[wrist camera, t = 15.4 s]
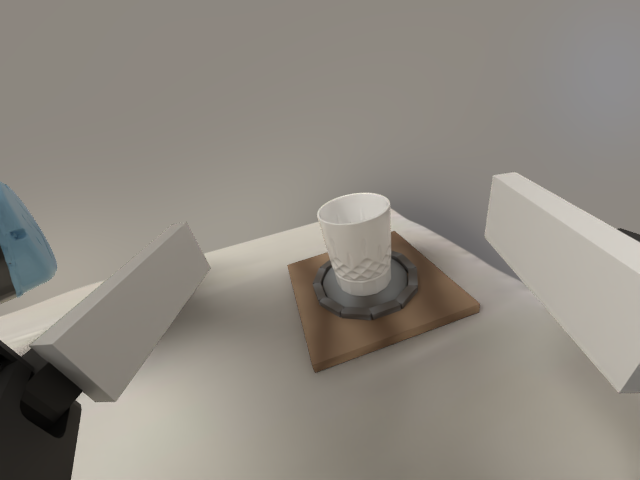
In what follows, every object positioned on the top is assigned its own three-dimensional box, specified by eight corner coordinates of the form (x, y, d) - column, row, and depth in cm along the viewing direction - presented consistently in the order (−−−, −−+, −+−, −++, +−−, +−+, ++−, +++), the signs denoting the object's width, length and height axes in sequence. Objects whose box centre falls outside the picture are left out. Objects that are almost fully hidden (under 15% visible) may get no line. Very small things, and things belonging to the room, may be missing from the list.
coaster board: (315, 372, 25) (310, 360, 24) (289, 271, 41) (285, 260, 40) (478, 312, 27) (480, 298, 26) (395, 237, 43) (394, 226, 42)
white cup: (321, 285, 34) (302, 216, 29) (358, 254, 38) (348, 189, 33) (370, 310, 28) (358, 231, 24) (408, 271, 33) (404, 197, 28)
